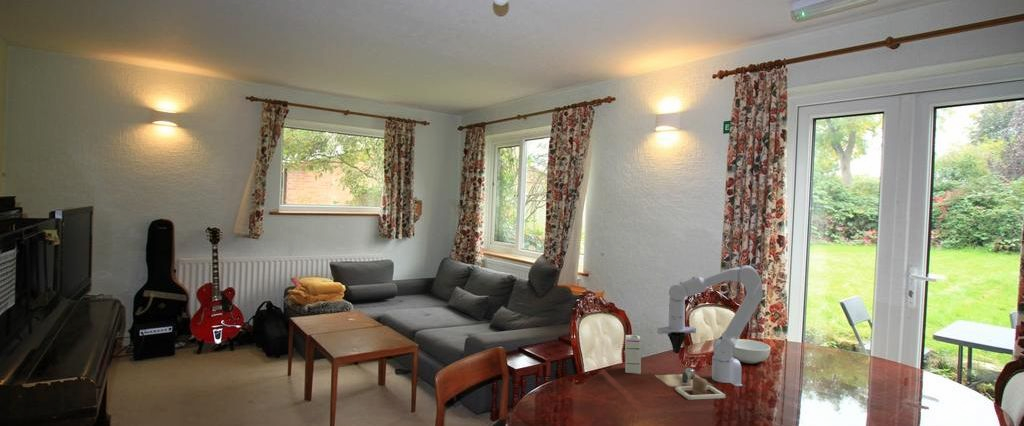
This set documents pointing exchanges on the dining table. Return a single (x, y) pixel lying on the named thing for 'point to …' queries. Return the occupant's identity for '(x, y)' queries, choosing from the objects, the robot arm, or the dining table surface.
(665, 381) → the crank board
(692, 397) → the tray
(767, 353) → the cereal bowl
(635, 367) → the syrup box
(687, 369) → the crank lever
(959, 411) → the dining table surface
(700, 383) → the cylinder
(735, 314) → the robot arm
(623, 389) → the dining table surface
